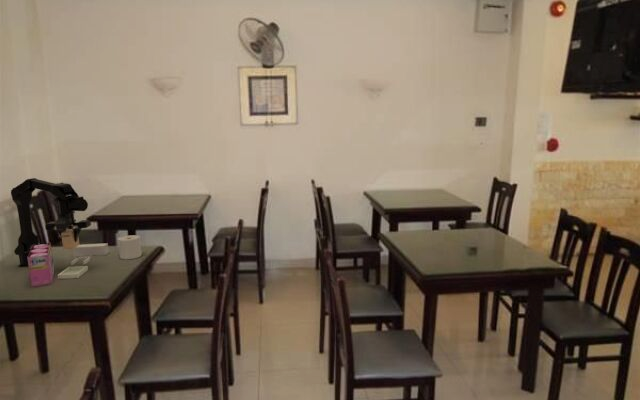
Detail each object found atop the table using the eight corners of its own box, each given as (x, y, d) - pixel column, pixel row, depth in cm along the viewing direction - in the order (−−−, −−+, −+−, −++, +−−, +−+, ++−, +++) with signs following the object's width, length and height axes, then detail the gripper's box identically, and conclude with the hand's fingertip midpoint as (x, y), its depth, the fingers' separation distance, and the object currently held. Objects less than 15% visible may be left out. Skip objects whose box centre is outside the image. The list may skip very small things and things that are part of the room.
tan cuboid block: (62, 249, 218) (60, 233, 216) (69, 245, 225) (67, 229, 224) (72, 249, 218) (70, 233, 217) (79, 244, 226) (77, 228, 224)
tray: (58, 279, 209) (57, 274, 209) (69, 270, 220) (68, 266, 220) (78, 278, 210) (77, 273, 210) (88, 269, 221) (87, 265, 221)
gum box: (36, 270, 222) (32, 243, 219) (55, 268, 225) (51, 241, 222) (31, 287, 201) (26, 257, 198) (52, 283, 204) (47, 254, 201)
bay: (60, 265, 228) (59, 256, 227) (78, 253, 247) (76, 244, 246) (94, 264, 229) (93, 254, 228) (108, 252, 248) (107, 243, 247)
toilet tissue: (137, 259, 235) (135, 240, 233) (113, 260, 235) (111, 241, 233) (145, 253, 245) (143, 234, 243) (122, 253, 245) (120, 235, 243)
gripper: (37, 215, 210) (42, 248, 213) (79, 213, 211) (83, 245, 214) (49, 210, 221) (53, 241, 224) (89, 208, 222) (93, 239, 225)
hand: (70, 242), depth 222 cm, fingers closed on tan cuboid block, 4 cm apart
